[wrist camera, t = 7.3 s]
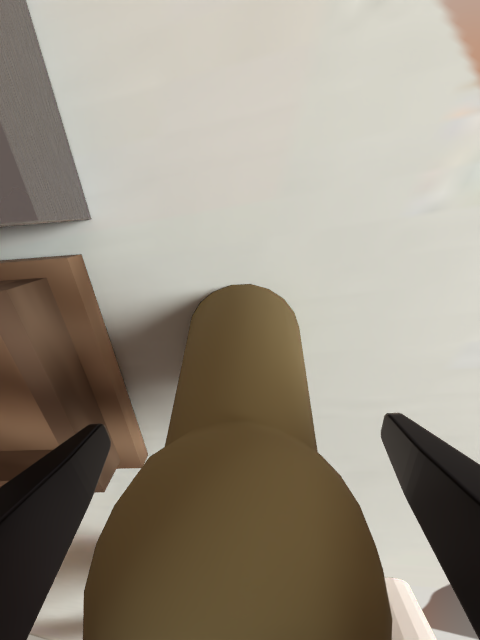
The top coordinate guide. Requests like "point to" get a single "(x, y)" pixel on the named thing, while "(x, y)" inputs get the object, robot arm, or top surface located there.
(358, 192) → the top surface
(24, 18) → the button housing
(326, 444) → the top surface
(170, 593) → the cork
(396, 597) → the shot glass
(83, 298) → the wooden serving tray
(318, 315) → the top surface
